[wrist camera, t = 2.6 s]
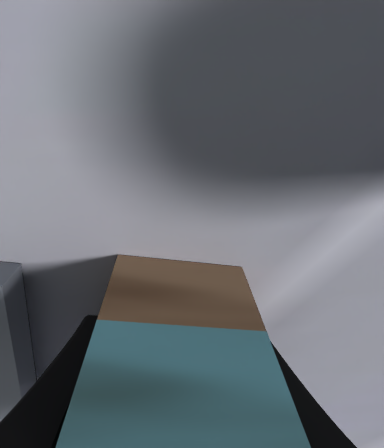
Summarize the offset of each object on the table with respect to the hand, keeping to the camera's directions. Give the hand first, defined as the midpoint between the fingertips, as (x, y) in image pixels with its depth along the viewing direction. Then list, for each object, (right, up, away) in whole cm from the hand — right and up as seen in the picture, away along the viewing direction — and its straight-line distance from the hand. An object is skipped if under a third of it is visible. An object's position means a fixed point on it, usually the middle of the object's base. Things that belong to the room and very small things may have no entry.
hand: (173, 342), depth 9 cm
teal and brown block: (0, +1, +1) cm, 2 cm away
